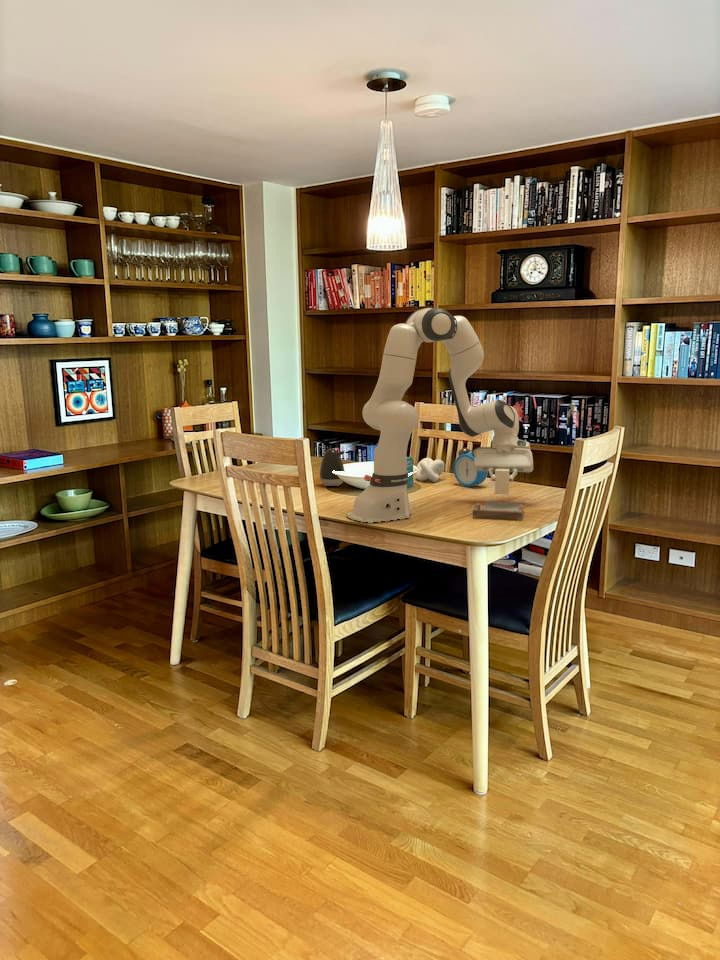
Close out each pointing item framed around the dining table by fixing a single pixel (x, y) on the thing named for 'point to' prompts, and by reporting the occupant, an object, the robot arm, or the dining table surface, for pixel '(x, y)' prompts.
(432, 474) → the white decorative knot
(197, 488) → the dining table surface
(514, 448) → the robot arm
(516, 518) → the brown wooden tray
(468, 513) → the dining table surface
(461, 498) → the dining table surface
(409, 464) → the data package
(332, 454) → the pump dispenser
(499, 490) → the cream block
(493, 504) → the grey mat
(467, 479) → the alarm clock
